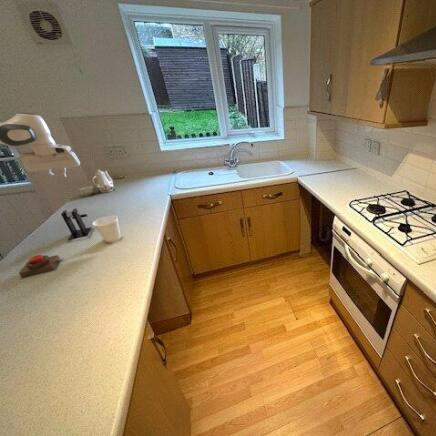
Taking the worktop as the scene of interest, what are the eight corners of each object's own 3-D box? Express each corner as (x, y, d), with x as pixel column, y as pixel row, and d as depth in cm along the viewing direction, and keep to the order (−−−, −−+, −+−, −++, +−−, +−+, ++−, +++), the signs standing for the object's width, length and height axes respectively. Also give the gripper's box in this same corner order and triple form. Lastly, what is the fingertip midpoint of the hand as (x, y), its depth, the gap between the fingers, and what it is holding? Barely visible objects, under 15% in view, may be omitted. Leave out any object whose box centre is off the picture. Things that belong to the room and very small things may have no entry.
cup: (114, 246, 113) (105, 226, 107) (96, 245, 114) (86, 225, 109) (130, 235, 121) (122, 216, 116) (113, 234, 123) (104, 215, 117)
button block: (22, 277, 95) (16, 270, 93) (30, 266, 101) (25, 258, 99) (54, 270, 98) (49, 262, 97) (60, 259, 105) (56, 251, 103)
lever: (73, 220, 126) (72, 215, 126) (87, 217, 128) (86, 213, 128) (61, 217, 114) (60, 213, 114) (77, 215, 117) (76, 210, 117)
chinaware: (107, 186, 193) (97, 165, 185) (126, 183, 191) (117, 163, 183) (79, 200, 168) (65, 177, 160) (100, 197, 167) (88, 174, 159)
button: (29, 265, 96) (26, 262, 95) (33, 259, 99) (31, 256, 98) (42, 262, 97) (40, 259, 96) (45, 257, 100) (43, 253, 100)
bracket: (74, 232, 125) (61, 208, 119) (92, 228, 128) (81, 205, 122) (68, 242, 117) (54, 217, 111) (88, 237, 120) (76, 213, 114)
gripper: (13, 153, 107) (30, 182, 114) (70, 148, 115) (82, 176, 121) (20, 151, 112) (35, 179, 119) (74, 146, 120) (85, 172, 127)
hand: (59, 177), depth 120 cm, fingers closed
